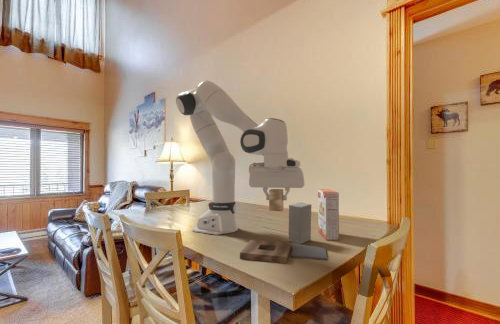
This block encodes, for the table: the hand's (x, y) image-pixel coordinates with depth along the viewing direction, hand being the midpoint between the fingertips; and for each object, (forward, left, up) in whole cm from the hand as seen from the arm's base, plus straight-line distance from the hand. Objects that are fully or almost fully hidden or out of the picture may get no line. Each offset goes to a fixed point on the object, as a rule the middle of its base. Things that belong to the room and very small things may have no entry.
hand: (276, 200), depth 91 cm
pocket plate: (-4, 0, -19) cm, 20 cm away
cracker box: (+19, +29, -20) cm, 40 cm away
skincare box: (+7, +18, -20) cm, 27 cm away
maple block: (0, 0, -4) cm, 4 cm away
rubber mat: (+11, +4, -19) cm, 23 cm away
